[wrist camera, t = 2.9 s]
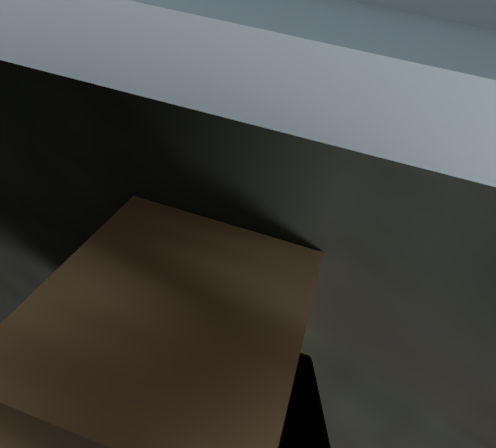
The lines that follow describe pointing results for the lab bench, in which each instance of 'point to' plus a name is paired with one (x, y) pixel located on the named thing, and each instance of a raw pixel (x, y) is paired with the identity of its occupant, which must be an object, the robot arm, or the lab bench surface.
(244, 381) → the walnut block
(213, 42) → the sorting tray
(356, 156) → the lab bench surface
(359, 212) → the lab bench surface
